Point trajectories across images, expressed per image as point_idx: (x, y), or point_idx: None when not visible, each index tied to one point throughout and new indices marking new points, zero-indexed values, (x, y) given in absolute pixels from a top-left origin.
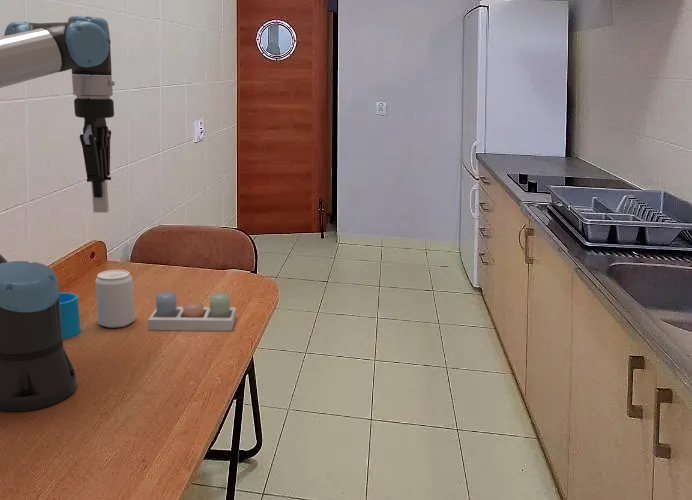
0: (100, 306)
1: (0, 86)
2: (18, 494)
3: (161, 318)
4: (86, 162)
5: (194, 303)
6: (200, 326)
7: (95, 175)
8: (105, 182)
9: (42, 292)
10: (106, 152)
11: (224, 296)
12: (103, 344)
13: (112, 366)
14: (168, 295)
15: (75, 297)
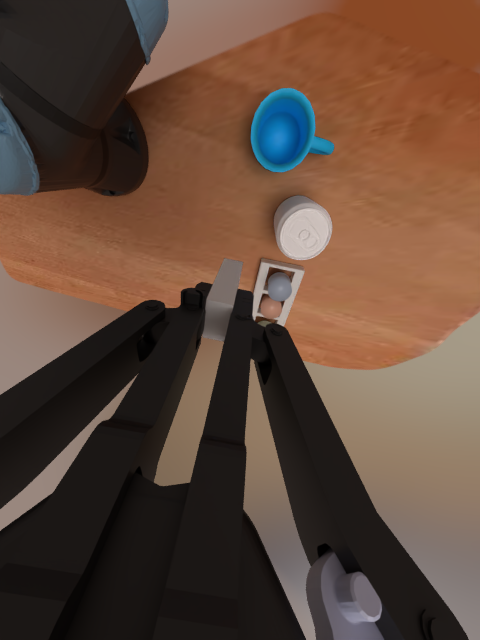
0: (284, 205)
1: None
2: None
3: (263, 275)
4: (80, 351)
5: (276, 311)
6: None
7: (143, 335)
8: (211, 336)
9: None
10: (279, 442)
11: None
12: (228, 210)
13: (170, 226)
14: (277, 293)
15: (279, 168)
